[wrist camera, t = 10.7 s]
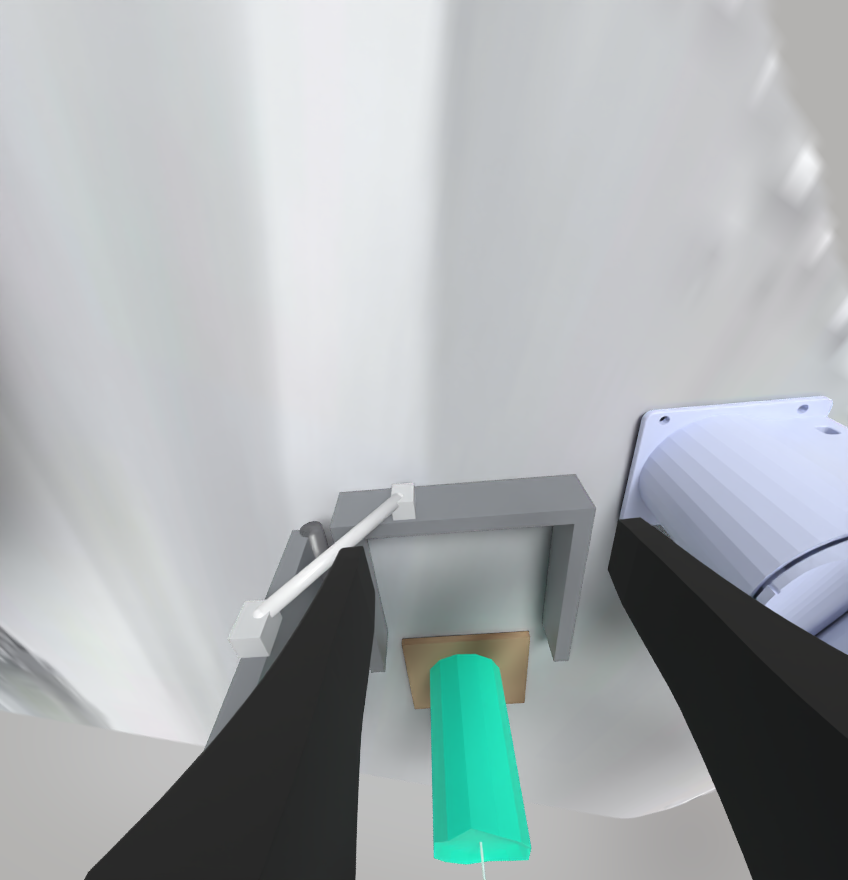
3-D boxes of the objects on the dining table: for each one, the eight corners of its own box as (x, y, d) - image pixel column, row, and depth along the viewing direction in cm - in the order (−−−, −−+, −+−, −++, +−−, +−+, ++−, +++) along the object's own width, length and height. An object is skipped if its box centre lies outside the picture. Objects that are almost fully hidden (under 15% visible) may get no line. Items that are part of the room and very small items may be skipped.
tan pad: (528, 631, 30) (530, 637, 30) (523, 696, 35) (524, 702, 35) (402, 639, 30) (401, 645, 30) (414, 703, 35) (414, 708, 35)
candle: (510, 659, 31) (556, 880, 21) (485, 696, 34) (514, 906, 24) (440, 648, 30) (450, 874, 20) (420, 687, 33) (421, 902, 23)
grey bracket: (578, 454, 22) (909, 954, 7) (555, 621, 29) (689, 1024, 15) (299, 477, 22) (67, 981, 8) (349, 634, 30) (281, 1034, 15)
